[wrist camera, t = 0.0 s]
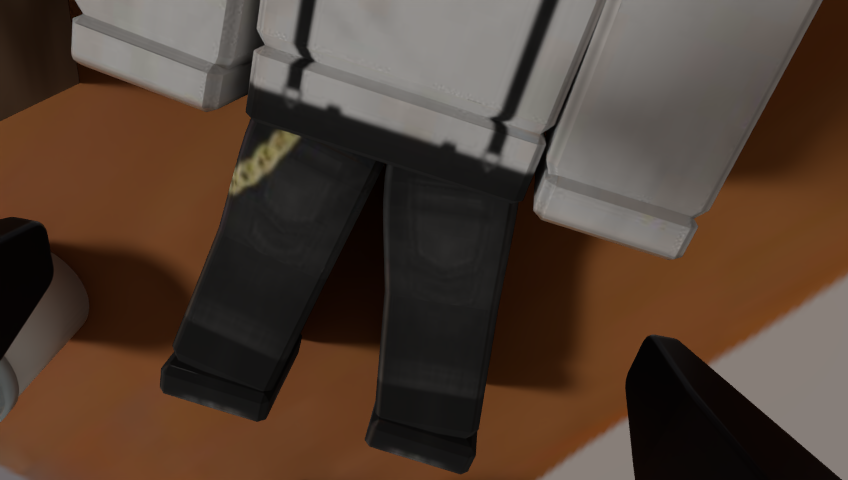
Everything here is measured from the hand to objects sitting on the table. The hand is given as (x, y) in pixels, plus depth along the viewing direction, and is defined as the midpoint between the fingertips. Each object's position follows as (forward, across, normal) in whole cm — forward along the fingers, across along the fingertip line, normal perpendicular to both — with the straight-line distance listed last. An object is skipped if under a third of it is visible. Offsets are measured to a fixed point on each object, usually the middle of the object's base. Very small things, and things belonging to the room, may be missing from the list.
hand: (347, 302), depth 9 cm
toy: (+15, 0, 0) cm, 15 cm away
